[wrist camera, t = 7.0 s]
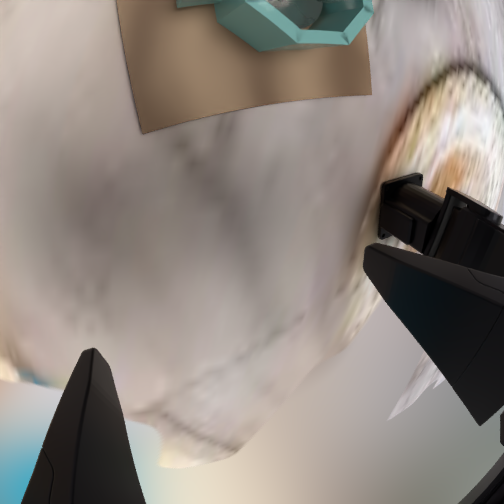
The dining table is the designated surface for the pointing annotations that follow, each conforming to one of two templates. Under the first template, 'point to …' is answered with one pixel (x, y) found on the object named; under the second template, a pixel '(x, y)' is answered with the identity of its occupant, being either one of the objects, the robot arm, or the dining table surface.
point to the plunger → (301, 10)
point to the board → (223, 66)
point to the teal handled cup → (289, 23)
